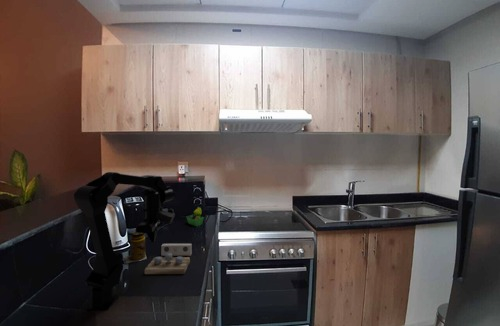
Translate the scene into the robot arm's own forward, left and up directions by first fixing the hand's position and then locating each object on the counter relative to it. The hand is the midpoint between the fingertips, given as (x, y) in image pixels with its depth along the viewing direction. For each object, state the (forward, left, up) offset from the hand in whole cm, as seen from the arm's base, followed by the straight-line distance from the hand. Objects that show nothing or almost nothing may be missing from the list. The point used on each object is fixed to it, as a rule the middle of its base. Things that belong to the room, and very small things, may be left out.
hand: (153, 241), depth 91 cm
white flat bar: (+14, -6, -12) cm, 19 cm away
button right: (+2, -10, -12) cm, 16 cm away
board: (+2, -6, -12) cm, 14 cm away
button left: (+2, -1, -12) cm, 12 cm away
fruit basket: (+60, -6, -12) cm, 61 cm away
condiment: (+11, +12, -12) cm, 20 cm away
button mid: (+2, -6, -10) cm, 12 cm away
